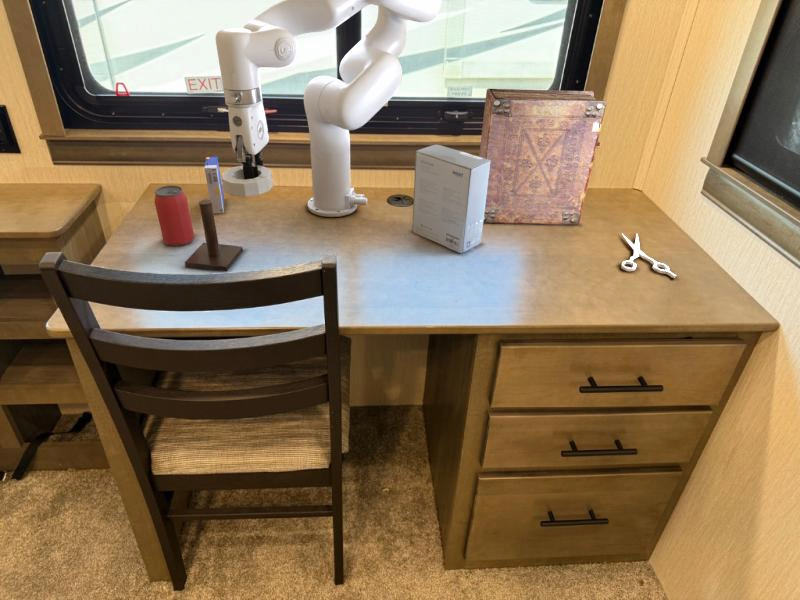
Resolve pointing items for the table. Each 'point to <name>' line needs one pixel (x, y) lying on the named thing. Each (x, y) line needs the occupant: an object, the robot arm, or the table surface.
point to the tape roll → (246, 182)
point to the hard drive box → (450, 196)
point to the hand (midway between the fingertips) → (254, 179)
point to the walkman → (214, 184)
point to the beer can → (174, 215)
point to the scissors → (641, 254)
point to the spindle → (212, 245)
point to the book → (539, 154)
